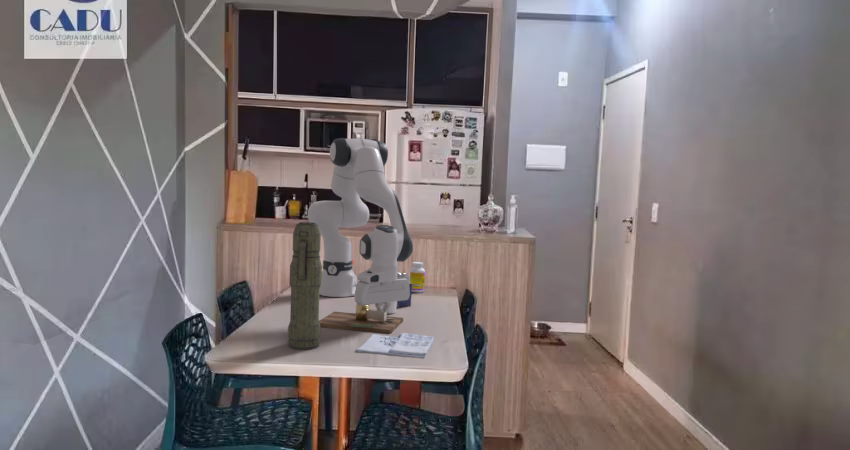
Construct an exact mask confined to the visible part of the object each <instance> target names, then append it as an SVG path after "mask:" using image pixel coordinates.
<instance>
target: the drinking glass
mask: <svg viewBox="0 0 850 450" xmlns="http://www.w3.org/2000/svg"><path fill="white" fill-rule="evenodd" d="M397 273H400V271H397ZM384 305H385V304H384V303H382V306H381V309H383V307H384ZM396 306H397V301H394V302H391V304H390V307H389V309H388V310H387V315H389V314H391V315H392V314H395V313H396V312H397V308H396Z"/></svg>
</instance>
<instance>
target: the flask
mask: <svg viewBox="0 0 850 450" xmlns="http://www.w3.org/2000/svg"><path fill="white" fill-rule="evenodd" d="M409 288H410V297H409V299H408V300H402V301H397V306H396V309H402V307H403V308H407V307H411V306H412V293H413V292H412V283H410V282H409Z"/></svg>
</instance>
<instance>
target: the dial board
mask: <svg viewBox="0 0 850 450" xmlns="http://www.w3.org/2000/svg"><path fill="white" fill-rule="evenodd" d="M319 322H320V328H328V329H329V328H330V329H339V330H348V331H349V330H352V331H358V330H359V332H361V331H362V332H371V333H380V334H392V333H393V332H394V331H395V330H396V329H397V328H398V327H399V326H400V325H401V324H402V323H403V322H404V317H399V316H397V317H396V316H390V315H389V316H388V315H387V320H386V321H378V320H373V319H369V320H366V321H359V320H356V312H355V313H354V312H343V311H332V312H331V313H330V314H327V315H326V316H324V317H323V318H321V319H320V320H319Z"/></svg>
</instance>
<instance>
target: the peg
mask: <svg viewBox="0 0 850 450" xmlns="http://www.w3.org/2000/svg"><path fill="white" fill-rule="evenodd" d="M355 314H356V320H359V321H366V320H369V319H373V320H378V321H386V320H387V316H388V314H387V312H386V311H380V310H377V309H374V308H370V305H359V304H357V303H356V304H355Z"/></svg>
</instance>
